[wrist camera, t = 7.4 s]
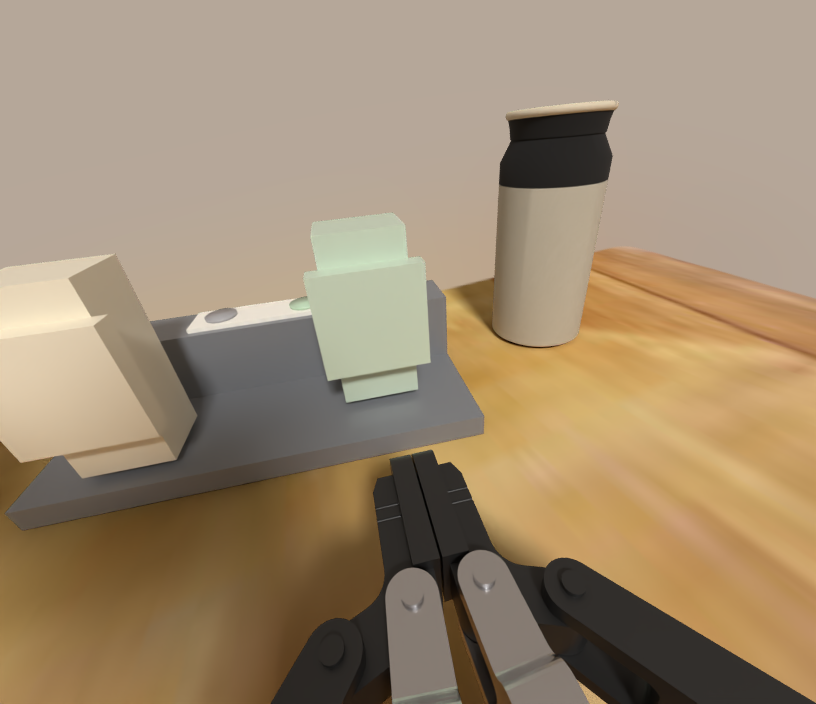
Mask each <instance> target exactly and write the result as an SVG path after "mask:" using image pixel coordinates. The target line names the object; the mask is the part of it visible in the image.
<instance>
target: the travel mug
mask: <svg viewBox="0 0 816 704" xmlns="http://www.w3.org/2000/svg"><path fill="white" fill-rule="evenodd" d="M618 105H619V103H618V102H617V101H595V102H584V103H573V104H563V105H555V106H546V107H538V108H530V109H523V110H516V111H511V112H508V113H507V114H506V119H507V120H508V122H509V127H510V140H511V142H510V145H509V146H508V148H507V150H506V152H505V154H504V156H503V158H502V161H501V162H500V177H499V178H500V179H499V196H498V218H497V237H496V257H495V278H494V298H493V318H492V327H493V330H494V331H495V332H496V333H497V334H498V335H499V336H501V337H502V338H504V339H506V340H508V341H511V342H514V343H517V344H520V345H525V346H533V347H547V346H555V345H560V344H564V343H567V342H569V341H571V340H573V339H574V338H575V337H576V336H577V335H578V333H579V328H580V322H581V317H582V312H583V307H584V302H585V296H586V291H587V286H588V281H589V276H590V271H591V265H592V260H593V255H594V250H595V244H596V239H597V233H598V229H599V224H600V219H601V213H602V208H603V203H604V198H605V193H606V187H607V182H608V177H609V172H610V166H611V161H612V152H611V149H610V146H609V143H608V140H607V137H606V134H605V132H606V131H607V129H608V126H609V122H610V118H611V116H612V114H613V112H614V110H615V109H617V107H618Z"/></svg>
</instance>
